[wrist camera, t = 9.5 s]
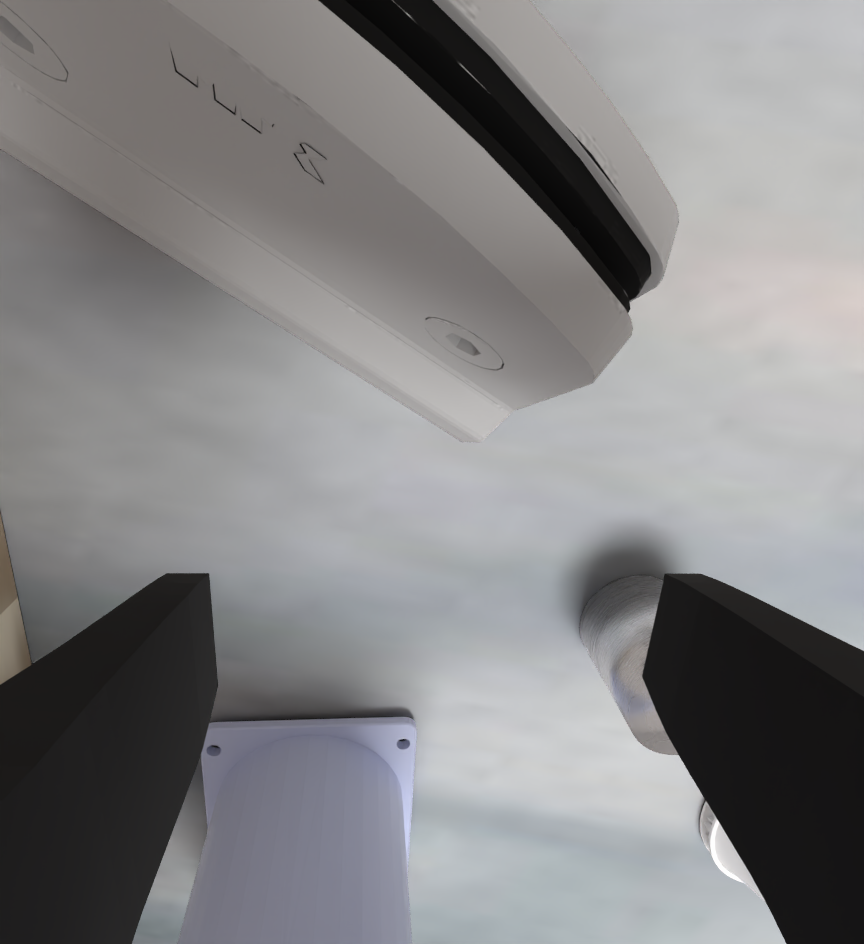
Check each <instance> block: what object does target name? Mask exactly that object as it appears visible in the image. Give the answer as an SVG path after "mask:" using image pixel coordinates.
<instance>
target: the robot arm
mask: <svg viewBox="0 0 864 944" xmlns="http://www.w3.org/2000/svg"><path fill="white" fill-rule="evenodd" d="M642 678H643V680H644V683H645V685H646V688H647V690H648V692H649V695H650V697H651V700H652V702H653V705H654V707H655V709H656V712H657V714H658V716H659V718H660V720H661V723H662V725H663V727H664V729H665V732H666V734H667V735H668V737H669V739H670V741H671V742H672V744H673V746H674V748H675V749H676V751H677V753H678V755H679V756H680V758H681V760H682V761H683V763H684V765H685V766H686V768H687V770H688V771H689V773H690V775H691V777H692V778H693V780H694V782H695V783H696V785H697V787H698V788H699V790H700V792H701V793H702V795H703V797H704V798H705V800H706V802H707V803H708V805H709V807H710V808H711V810H712V811H713V813H714V815H715V816H716V818H717V820H718V821H719V823H720V825H721V826H722V828H723V830H724V831H725V833H726V835H727V836H728V838H729V840H730V841H731V843H732V845H733V846H734V848H735V850H736V851H737V853H738V855H739V856H740V858H741V860H742V861H743V863H744V865H745V866H746V868H747V870H748V871H749V873H750V875H751V876H752V878H753V880H754V882H755V884H756V885H757V887H758V889H759V891H760V893H761V894H762V896H763V898H764V900H765V902H766V904H767V905H768V907H769V909H770V911H771V913H772V915H773V917H774V919H775V921H776V923H777V925H778V927H779V929H780V931H781V933H782V935H783V937H784V939H785V942H786V944H864V651H862V650H860V649H858V648H856V647H854V646H852V645H850V644H848V643H846V642H844V641H842V640H840V639H838V638H836V637H834V636H832V635H830V634H827V633H825V632H823V631H821V630H819V629H817V628H815V627H813V626H811V625H809V624H807V623H805V622H803V621H801V620H799V619H797V618H795V617H793V616H791V615H789V614H787V613H785V612H783V611H781V610H779V609H777V608H775V607H773V606H771V605H769V604H767V603H765V602H763V601H761V600H759V599H757V598H755V597H753V596H751V595H749V594H747V593H745V592H743V591H740V590H738V589H736V588H734V587H732V586H730V585H727V584H725V583H723V582H721V581H718V580H716V579H713V578H711V577H708V576H705V575H702V574H665V576H664V580H663V585H662V589H661V594H660V598H659V602H658V607H657V611H656V616H655V620H654V625H653V629H652V634H651V638H650V642H649V647H648V651H647V656H646V660H645V665H644V669H643V674H642ZM217 687H218V680H217V668H216V655H215V642H214V630H213V617H212V605H211V592H210V580H209V573H167V574H165V575H163V576H162V577H160V578H158V579H157V580H155V581H154V582H152V583H151V584H149V585H148V586H146V587H145V588H143V589H142V590H140V591H139V592H137V593H136V594H135V595H133V596H132V597H130V598H129V599H128V600H126V601H125V602H123V603H122V604H120V605H119V606H118V607H116V608H115V609H113V610H112V611H111V612H109V613H108V614H106V615H105V616H103V617H102V618H101V619H99V620H98V621H96V622H95V623H93V624H92V625H90V626H89V627H88V628H86V629H85V630H83V631H82V632H80V633H79V634H77V635H76V636H74V637H73V638H72V639H70V640H69V641H67V642H66V643H64V644H63V645H61V646H60V647H58V648H57V649H55V650H54V651H52V652H51V653H49V654H48V655H46V656H45V657H43V658H41V659H40V660H38V661H37V662H35V663H33V664H32V665H30V666H29V667H27V668H26V669H24V670H22V671H21V672H19V673H18V674H16V675H15V676H13V677H11V678H10V679H8V680H7V681H5V682H4V683H2V684H0V944H132V941H133V938H134V935H135V932H136V929H137V926H138V923H139V920H140V917H141V914H142V911H143V908H144V906H145V903H146V900H147V898H148V895H149V892H150V890H151V887H152V884H153V882H154V879H155V876H156V874H157V871H158V868H159V866H160V863H161V860H162V858H163V855H164V852H165V850H166V847H167V844H168V842H169V839H170V836H171V834H172V831H173V828H174V826H175V823H176V820H177V818H178V815H179V812H180V810H181V807H182V804H183V802H184V799H185V796H186V794H187V791H188V788H189V785H190V783H191V780H192V777H193V774H194V772H195V769H196V766H197V764H198V761H199V758H200V755H201V764H202V775H203V785H204V796H205V807H206V817H207V828H208V832H207V836H206V839H205V843H204V847H203V850H202V854H201V858H200V861H199V865H198V869H197V872H196V876H195V880H194V884H193V887H192V891H191V895H190V898H189V902H188V906H187V909H186V913H185V917H184V920H183V924H182V928H181V931H180V935H179V939H178V942H177V944H412V933H411V918H410V904H409V889H408V860H409V845H410V830H411V815H412V799H413V784H414V769H415V753H416V738H417V729H416V723H415V722H414V720H413V719H411V718H409V717H378V718H343V719H308V720H273V721H238V722H213V723H209V722H210V718H211V713H212V709H213V704H214V700H215V696H216V691H217ZM400 739H407V740H406V741H403V742H401V741H399V740H400ZM211 745H216V746H219V748H214V747H212V746H211Z"/></svg>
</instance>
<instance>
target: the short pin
mask: <svg viewBox="0 0 864 944" xmlns="http://www.w3.org/2000/svg"><path fill="white" fill-rule="evenodd" d="M662 585H663V580H661V579H658V578H655V577H652V576H647V575H633V576H627V577H624V578H620V579H618V580H615V581H613V582H611V583H609V584H607V585H606V586H604V587H603V588H602V589H600V590H599V591H598V592H597V593H596V594H595V595H594V596H593V597H592V598H591V599H590V601H589V602H588V603H587V605H586V607H585V609H584V611H583V613H582V616H581V620H580V636H581V640H582V642H583V645H584V646H585V648H586V650H587V652H588V654H589V655H590V657H591V659H592V661H593V663H594V664H595V666H596V668H597V670H598V672H599V673H600V675H601V677H602V679H603V681H604V682H605V684H606V686H607V688H608V690H609V691H610V693H611V695H612V697H613V699H614V701H615V702H616V704H617V706H618V708H619V710H620V711H621V713H622V715H623V717H624V719H625V720H626V722H627V724H628V726H629V728H630V729H631V731H632V733H633V735H634V736H635V738H636V739H637V740H638V741H639V742H640V743H641V744H642V745H643V746H645V747H646V748H648V749H650V750H652V751H655V752H658V753H662V754H668V755H678V753H677V751H676V749H675V748H674V746H673V744H672V742H671V741H670V739H669V737H668V735H667V734H666V732H665V729H664V727H663V725H662V723H661V720H660V718H659V716H658V714H657V712H656V709H655V707H654V705H653V702H652V700H651V697H650V695H649V692H648V690H647V688H646V685H645V683H644V680H643V678H642V674H643V669H644V665H645V660H646V656H647V651H648V647H649V642H650V638H651V634H652V629H653V625H654V620H655V616H656V611H657V607H658V602H659V598H660V594H661V589H662Z"/></svg>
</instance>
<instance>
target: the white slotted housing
mask: <svg viewBox="0 0 864 944" xmlns="http://www.w3.org/2000/svg"><path fill="white" fill-rule="evenodd" d="M0 149H2V150H3V151H5V152H6V153H8V154H9V155H11V156H13V157H14V158H16V159H17V160H19V161H21V162H22V163H24V164H25V165H27V166H28V167H30V168H32V169H33V170H35V171H36V172H38V173H39V174H41V175H43V176H44V177H46V178H47V179H49V180H50V181H52V182H54V183H55V184H57V185H58V186H60V187H61V188H63V189H65V190H66V191H68V192H69V193H71V194H72V195H74V196H76V197H77V198H79V199H80V200H82V201H83V202H85V203H87V204H88V205H90V206H91V207H93V208H94V209H96V210H98V211H99V212H101V213H102V214H104V215H105V216H107V217H109V218H110V219H112V220H113V221H115V222H116V223H118V224H120V225H121V226H123V227H124V228H126V229H127V230H129V231H131V232H132V233H134V234H135V235H137V236H138V237H140V238H142V239H143V240H145V241H146V242H148V243H149V244H151V245H153V246H154V247H156V248H157V249H159V250H161V251H162V252H164V253H165V254H167V255H168V256H170V257H172V258H173V259H175V260H176V261H178V262H179V263H181V264H183V265H184V266H186V267H187V268H189V269H190V270H192V271H194V272H195V273H197V274H198V275H200V276H201V277H203V278H205V279H206V280H208V281H209V282H211V283H212V284H214V285H216V286H217V287H219V288H220V289H222V290H223V291H225V292H227V293H228V294H230V295H231V296H233V297H234V298H236V299H238V300H239V301H241V302H242V303H244V304H245V305H247V306H249V307H250V308H252V309H253V310H255V311H256V312H258V313H260V314H261V315H263V316H264V317H266V318H267V319H269V320H271V321H272V322H274V323H275V324H277V325H278V326H280V327H282V328H283V329H285V330H286V331H288V332H290V333H291V334H293V335H294V336H296V337H297V338H299V339H301V340H302V341H304V342H305V343H307V344H308V345H310V346H312V347H313V348H315V349H316V350H318V351H319V352H321V353H323V354H324V355H326V356H327V357H329V358H330V359H332V360H334V361H335V362H337V363H338V364H340V365H341V366H343V367H345V368H346V369H348V370H349V371H351V372H352V373H354V374H356V375H357V376H359V377H360V378H362V379H363V380H365V381H367V382H368V383H370V384H371V385H373V386H374V387H376V388H378V389H379V390H381V391H382V392H384V393H385V394H387V395H389V396H390V397H392V398H393V399H395V400H396V401H398V402H400V403H401V404H403V405H404V406H406V407H407V408H409V409H411V410H412V411H414V412H415V413H417V414H418V415H420V416H422V417H423V418H425V419H426V420H428V421H430V422H431V423H433V424H434V425H436V426H437V427H439V428H441V429H442V430H444V431H445V432H447V433H448V434H450V435H452V436H453V437H455V438H456V439H458V440H459V441H461V442H476V443H479V442H481V441H483V440H484V439H485V438H486V437H487V436H488V435H489V434H490V433H491V432H492V431H493V430H494V429H495V428H497V427H498V426H499V425H500V424H501V423H502V422H503V421H504V420H505V419H506V418H507V417H508V416H509V415H510V414H511V413H513V412H514V411H516V410H519V409H521V408H524V407H527V406H530V405H533V404H536V403H538V402H541V401H544V400H547V399H550V398H553V397H555V396H558V395H561V394H564V393H567V392H570V391H572V390H575V389H578V388H581V387H584V386H587V385H589V384H592V383H593V382H594V381H595V380H596V379H597V377H598V376H599V375H600V374H601V372H602V371H603V370H604V369H605V368H606V366H607V365H608V364H609V363H610V361H611V360H612V359H613V358H614V356H615V355H616V354H617V353H618V351H619V350H620V349H621V348H622V346H623V345H624V344H625V343H626V342H627V340H628V339H629V338H630V337H631V335H632V331H633V327H632V322H631V318H630V316H629V315H628V312H629V310H630V303H629V302H631V301H633V300H634V299H636V298H638V297H640V296H641V295H643V294H645V293H647V292H648V291H650V290H652V289H654V288H655V287H657V286H658V284H659V283H660V282H661V281H662V279H663V276H664V273H665V270H666V266H667V263H668V259H669V256H670V252H671V248H672V245H673V241H674V238H675V234H676V231H677V227H678V223H679V213H678V209H677V205H676V203H675V202H674V200H673V198H672V197H671V195H670V193H669V191H668V190H667V188H666V186H665V185H664V183H663V181H662V179H661V178H660V176H659V174H658V173H657V171H656V169H655V167H654V166H653V164H652V162H651V161H650V159H649V157H648V156H647V154H646V153H645V151H644V150H643V148H642V147H641V145H640V144H639V142H638V141H637V139H636V138H635V136H634V135H633V133H632V132H631V130H630V129H629V127H628V126H627V125H626V123H625V122H624V120H623V119H622V117H621V116H620V114H619V113H618V111H617V110H616V108H615V107H614V105H613V104H612V102H611V101H610V99H609V98H608V97H607V95H606V94H605V93H604V92H603V90H602V89H601V88H600V86H599V85H598V84H597V83H596V81H595V80H594V79H593V77H592V76H591V75H590V74H589V72H588V71H587V70H586V68H585V67H584V66H583V65H582V63H581V62H580V61H579V59H578V58H577V57H576V56H575V54H574V53H573V52H572V50H571V49H570V48H569V47H568V45H567V44H566V43H565V42H564V41H563V39H562V38H561V37H560V36H559V35H558V33H557V32H556V31H555V30H554V29H553V27H552V26H551V25H550V24H549V23H548V21H547V20H546V19H545V18H544V17H543V16H542V14H541V13H540V12H539V11H538V10H537V8H536V7H535V6H534V5H533V4H532V2H531V1H530V0H0Z"/></svg>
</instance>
